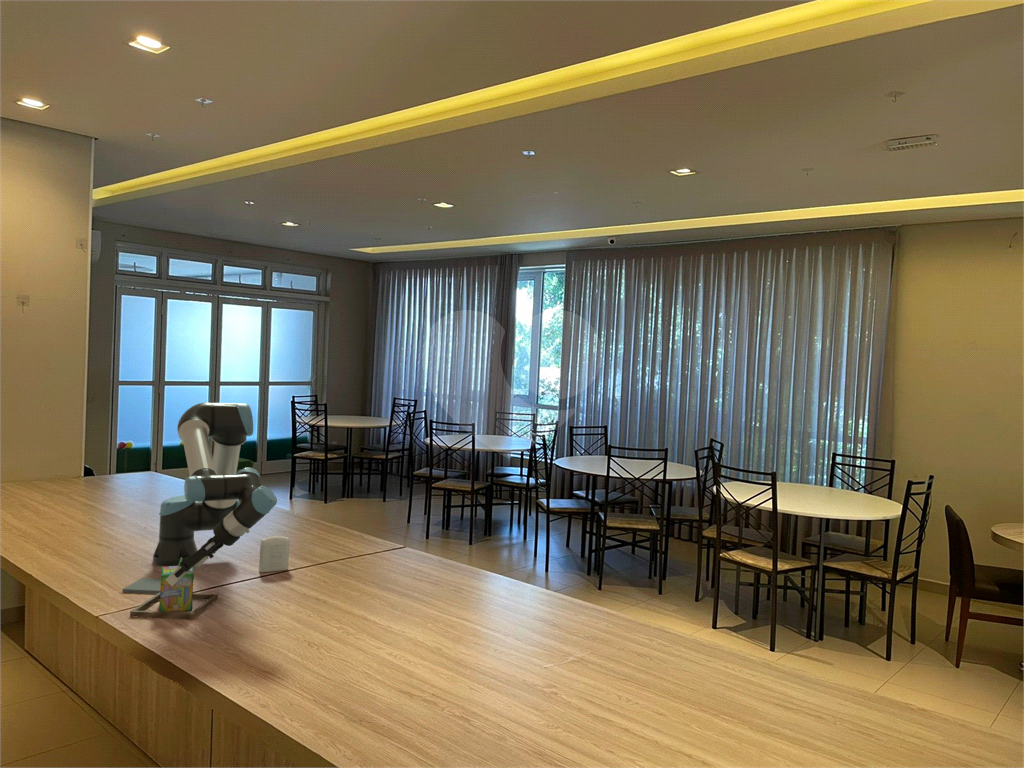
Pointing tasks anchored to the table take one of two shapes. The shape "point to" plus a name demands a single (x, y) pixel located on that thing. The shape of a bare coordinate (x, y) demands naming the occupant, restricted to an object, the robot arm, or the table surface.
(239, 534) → the robot arm
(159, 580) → the mat
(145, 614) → the holder frame
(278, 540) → the white tombstone
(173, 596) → the chalk box
